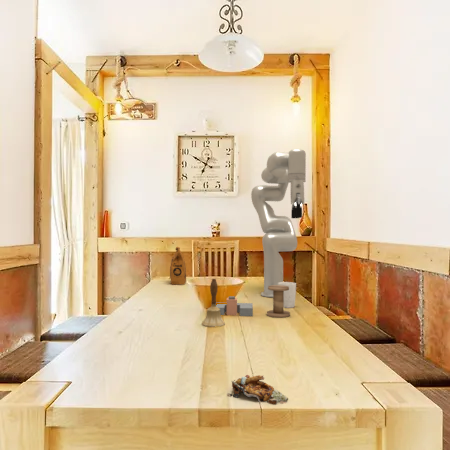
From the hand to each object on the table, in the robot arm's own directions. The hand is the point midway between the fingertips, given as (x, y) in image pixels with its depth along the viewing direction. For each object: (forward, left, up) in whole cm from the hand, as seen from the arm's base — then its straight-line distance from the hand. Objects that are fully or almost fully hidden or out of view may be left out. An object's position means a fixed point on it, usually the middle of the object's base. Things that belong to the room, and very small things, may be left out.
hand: (296, 218), depth 167 cm
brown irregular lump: (+89, -19, -39) cm, 99 cm away
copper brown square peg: (+17, -27, -38) cm, 50 cm away
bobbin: (+17, -9, -38) cm, 43 cm away
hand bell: (+33, -33, -39) cm, 61 cm away
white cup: (0, -4, -38) cm, 39 cm away
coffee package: (-62, -63, -38) cm, 96 cm away
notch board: (+15, -27, -38) cm, 49 cm away
